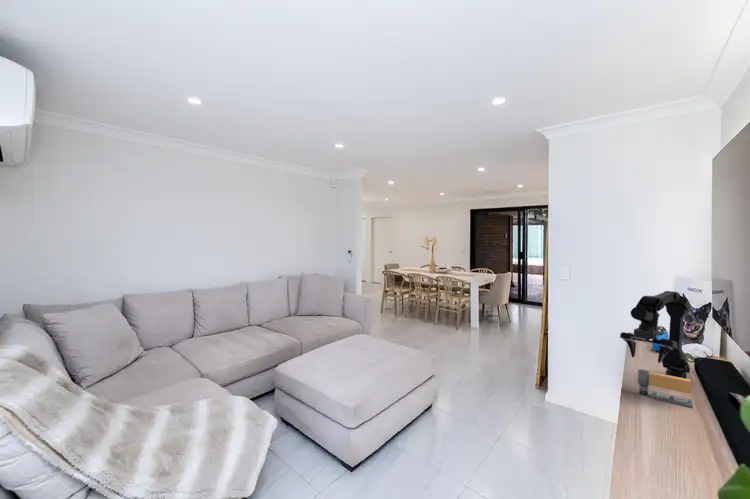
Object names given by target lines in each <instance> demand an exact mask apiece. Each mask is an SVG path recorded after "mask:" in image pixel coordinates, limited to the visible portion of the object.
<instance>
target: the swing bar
mask: <svg viewBox="0 0 750 499" xmlns="http://www.w3.org/2000/svg"><path fill="white" fill-rule="evenodd" d="M637 376H638V377H637V378H638V379H637V384H638V385H639V384H640V385H643V386H648V387H649V386H650V387H651V386H652V387H656V388H660V389H661V388H662V389H666V390H669V391H675V392H680V393H684V394H689V395H691V393H692V392H691V391H692V390H691V388H692V386H691V384H692V383H691V379H690V378H689V379H688V378H686V379H685V378H680V377H675V376H669V375H666V374H663V373H657V372H652V371H648V370H645V369H640V368H639V369H637Z"/></svg>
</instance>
